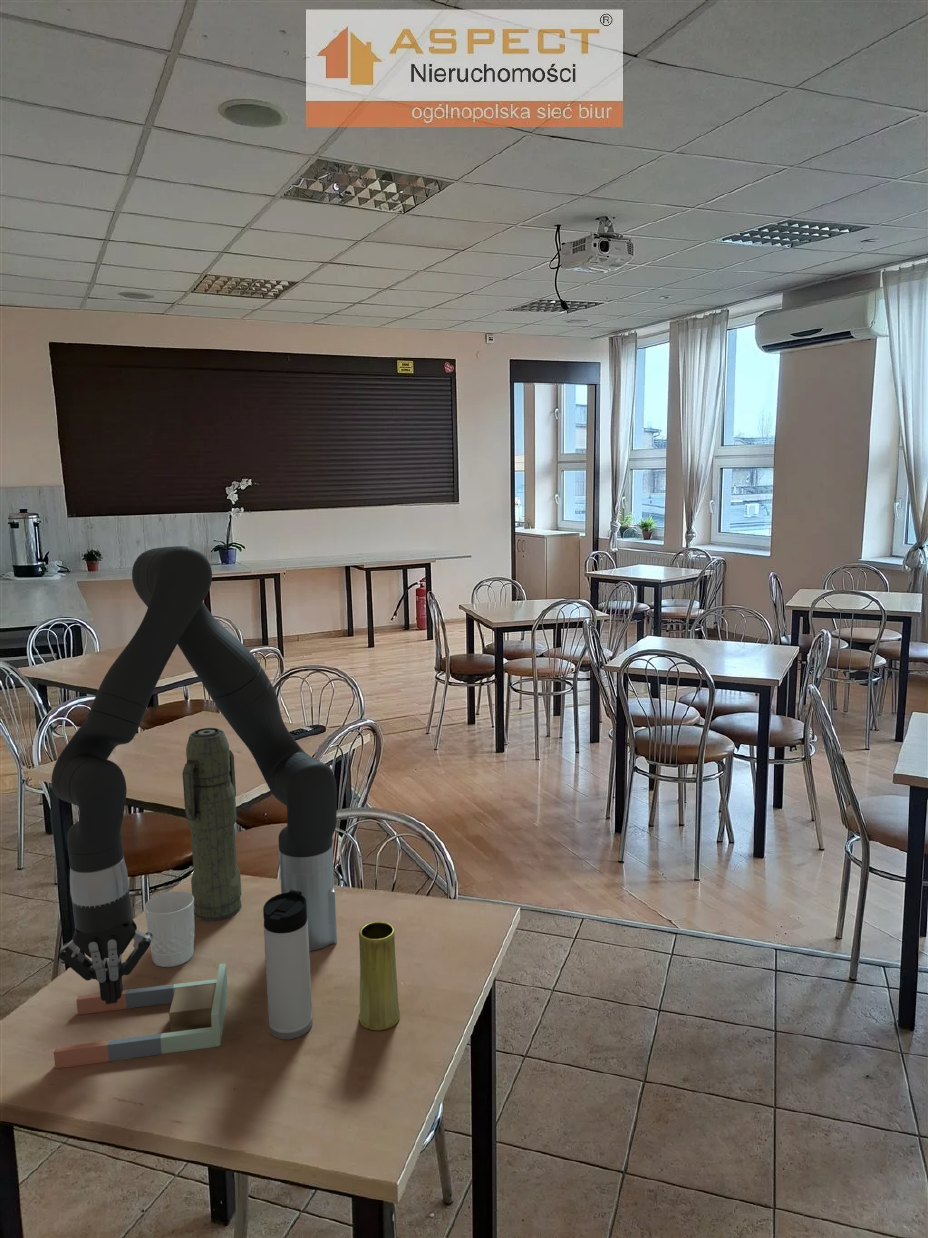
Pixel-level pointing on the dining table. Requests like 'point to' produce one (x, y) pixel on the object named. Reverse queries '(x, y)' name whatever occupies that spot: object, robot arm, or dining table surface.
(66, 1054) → the channel
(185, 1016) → the walnut block
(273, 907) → the travel mug
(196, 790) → the thermos
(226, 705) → the robot arm
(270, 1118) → the dining table surface
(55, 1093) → the dining table surface
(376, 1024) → the vase
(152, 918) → the white cup
